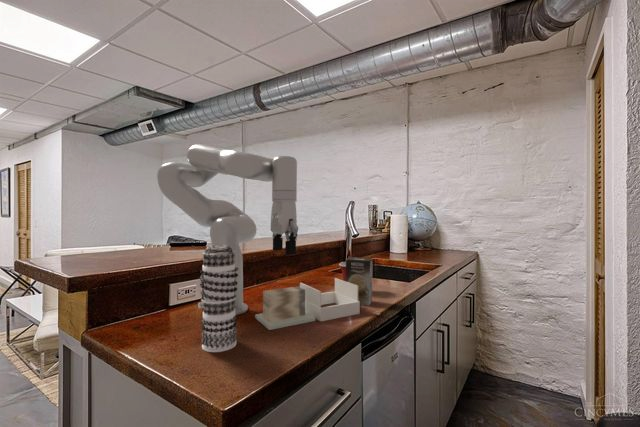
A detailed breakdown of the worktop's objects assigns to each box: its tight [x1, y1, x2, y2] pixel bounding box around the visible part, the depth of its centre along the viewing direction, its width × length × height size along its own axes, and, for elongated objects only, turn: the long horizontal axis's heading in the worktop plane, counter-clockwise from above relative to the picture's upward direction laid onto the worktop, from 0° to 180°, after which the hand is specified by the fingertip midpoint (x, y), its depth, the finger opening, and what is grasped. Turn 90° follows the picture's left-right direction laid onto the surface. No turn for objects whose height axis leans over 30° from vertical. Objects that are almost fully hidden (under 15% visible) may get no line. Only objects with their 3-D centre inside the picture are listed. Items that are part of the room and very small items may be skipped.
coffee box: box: [345, 256, 374, 307], centre depth 119 cm, size 9×6×16 cm
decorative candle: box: [199, 245, 238, 353], centre depth 82 cm, size 9×9×25 cm
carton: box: [299, 277, 361, 322], centre depth 109 cm, size 15×15×9 cm
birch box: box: [262, 285, 305, 322], centre depth 101 cm, size 12×5×8 cm, turn 120°
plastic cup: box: [338, 261, 346, 281], centre depth 135 cm, size 11×11×12 cm
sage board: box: [254, 312, 316, 331], centre depth 101 cm, size 15×12×1 cm
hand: (283, 252), depth 101 cm, fingers open, 9 cm apart
